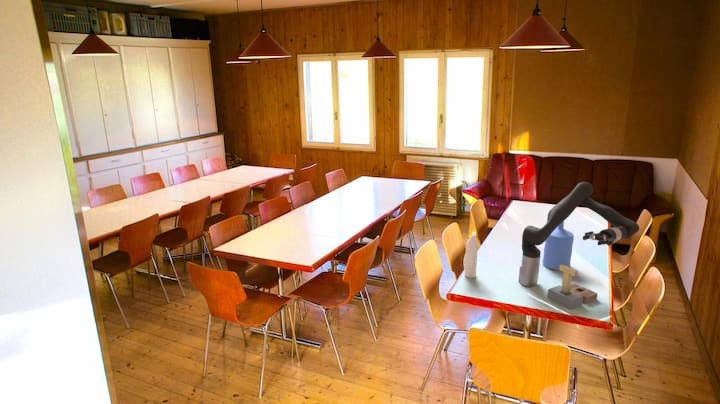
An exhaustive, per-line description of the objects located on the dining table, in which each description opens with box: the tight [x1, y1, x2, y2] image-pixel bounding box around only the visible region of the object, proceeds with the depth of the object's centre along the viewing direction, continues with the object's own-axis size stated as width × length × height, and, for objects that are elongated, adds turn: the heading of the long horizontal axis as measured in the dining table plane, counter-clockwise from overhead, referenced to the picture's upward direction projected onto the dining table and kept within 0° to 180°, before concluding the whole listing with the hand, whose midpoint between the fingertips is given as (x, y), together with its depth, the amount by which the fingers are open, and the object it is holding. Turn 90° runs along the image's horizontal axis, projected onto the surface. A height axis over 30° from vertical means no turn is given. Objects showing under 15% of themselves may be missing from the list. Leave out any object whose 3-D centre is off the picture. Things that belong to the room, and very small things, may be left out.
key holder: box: [547, 284, 584, 310], centre depth 244 cm, size 14×9×6 cm, turn 30°
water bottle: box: [464, 231, 479, 279], centre depth 275 cm, size 9×6×25 cm
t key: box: [558, 264, 579, 295], centre depth 242 cm, size 9×3×18 cm, turn 30°
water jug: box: [542, 221, 575, 271], centre depth 286 cm, size 16×16×28 cm
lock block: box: [571, 282, 598, 304], centre depth 250 cm, size 14×9×4 cm, turn 30°
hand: (590, 240), depth 247 cm, fingers open, 8 cm apart
